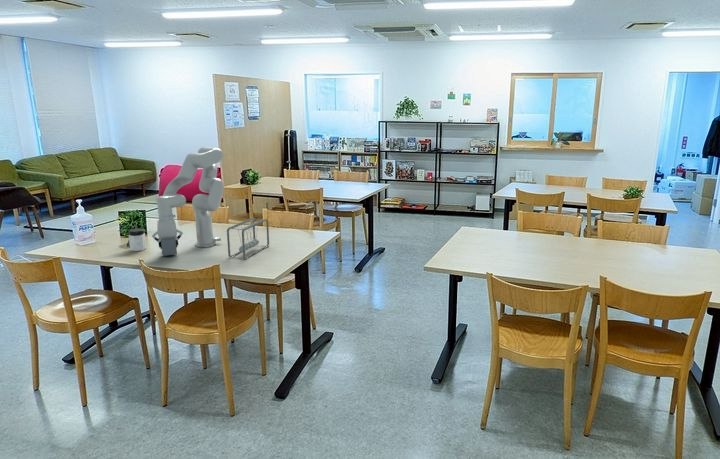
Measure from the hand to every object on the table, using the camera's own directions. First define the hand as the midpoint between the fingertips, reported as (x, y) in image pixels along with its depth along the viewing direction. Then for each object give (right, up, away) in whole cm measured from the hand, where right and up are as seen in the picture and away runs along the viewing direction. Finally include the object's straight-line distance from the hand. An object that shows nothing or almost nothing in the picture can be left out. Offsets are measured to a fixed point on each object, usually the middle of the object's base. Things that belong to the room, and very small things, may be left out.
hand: (168, 247), depth 285 cm
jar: (-23, -2, +13) cm, 27 cm away
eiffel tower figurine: (-32, 0, +22) cm, 39 cm away
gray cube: (0, -3, +1) cm, 3 cm away
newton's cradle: (+45, -3, +8) cm, 46 cm away
